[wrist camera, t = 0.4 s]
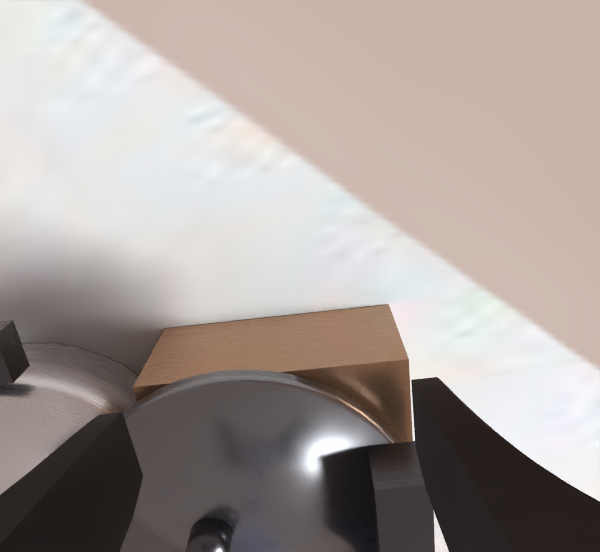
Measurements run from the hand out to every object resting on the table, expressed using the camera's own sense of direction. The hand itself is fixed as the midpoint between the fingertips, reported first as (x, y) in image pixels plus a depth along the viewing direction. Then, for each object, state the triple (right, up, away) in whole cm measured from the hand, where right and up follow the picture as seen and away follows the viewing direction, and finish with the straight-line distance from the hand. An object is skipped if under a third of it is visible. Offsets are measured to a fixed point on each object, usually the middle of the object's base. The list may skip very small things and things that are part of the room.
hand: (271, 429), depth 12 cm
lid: (-1, -5, +8) cm, 9 cm away
